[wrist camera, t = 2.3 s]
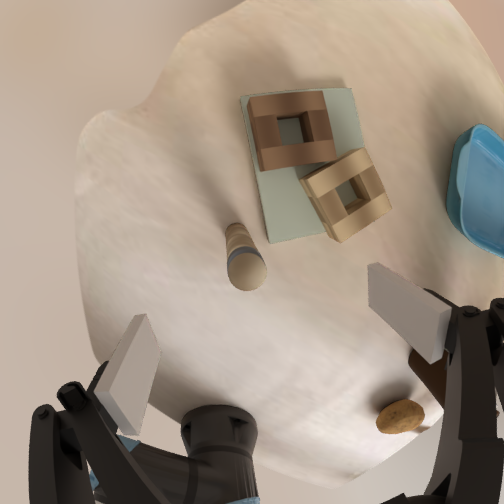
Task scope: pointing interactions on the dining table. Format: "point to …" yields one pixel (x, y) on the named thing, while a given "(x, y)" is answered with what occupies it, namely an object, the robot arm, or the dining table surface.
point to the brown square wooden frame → (311, 122)
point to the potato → (400, 417)
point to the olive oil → (432, 374)
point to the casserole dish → (478, 188)
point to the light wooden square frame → (364, 185)
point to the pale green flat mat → (303, 168)
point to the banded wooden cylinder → (243, 259)
